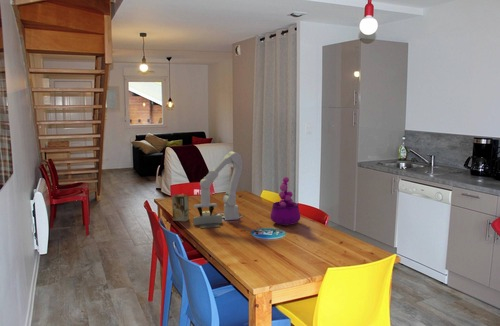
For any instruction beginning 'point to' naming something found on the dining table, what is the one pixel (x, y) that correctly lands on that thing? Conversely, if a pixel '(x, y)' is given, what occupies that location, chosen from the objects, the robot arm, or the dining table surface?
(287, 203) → the decorative plant
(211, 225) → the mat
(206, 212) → the letter block
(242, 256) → the dining table surface
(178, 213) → the coffee box
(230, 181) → the robot arm
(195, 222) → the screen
